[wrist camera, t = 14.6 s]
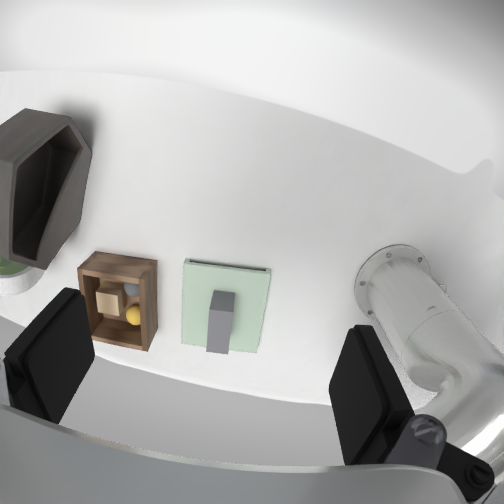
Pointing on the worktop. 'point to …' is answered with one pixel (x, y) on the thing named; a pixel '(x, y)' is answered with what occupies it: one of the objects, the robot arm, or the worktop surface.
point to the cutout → (17, 277)
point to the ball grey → (131, 289)
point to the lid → (223, 307)
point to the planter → (40, 185)
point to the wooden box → (123, 271)
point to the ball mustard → (133, 315)
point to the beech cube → (111, 298)
